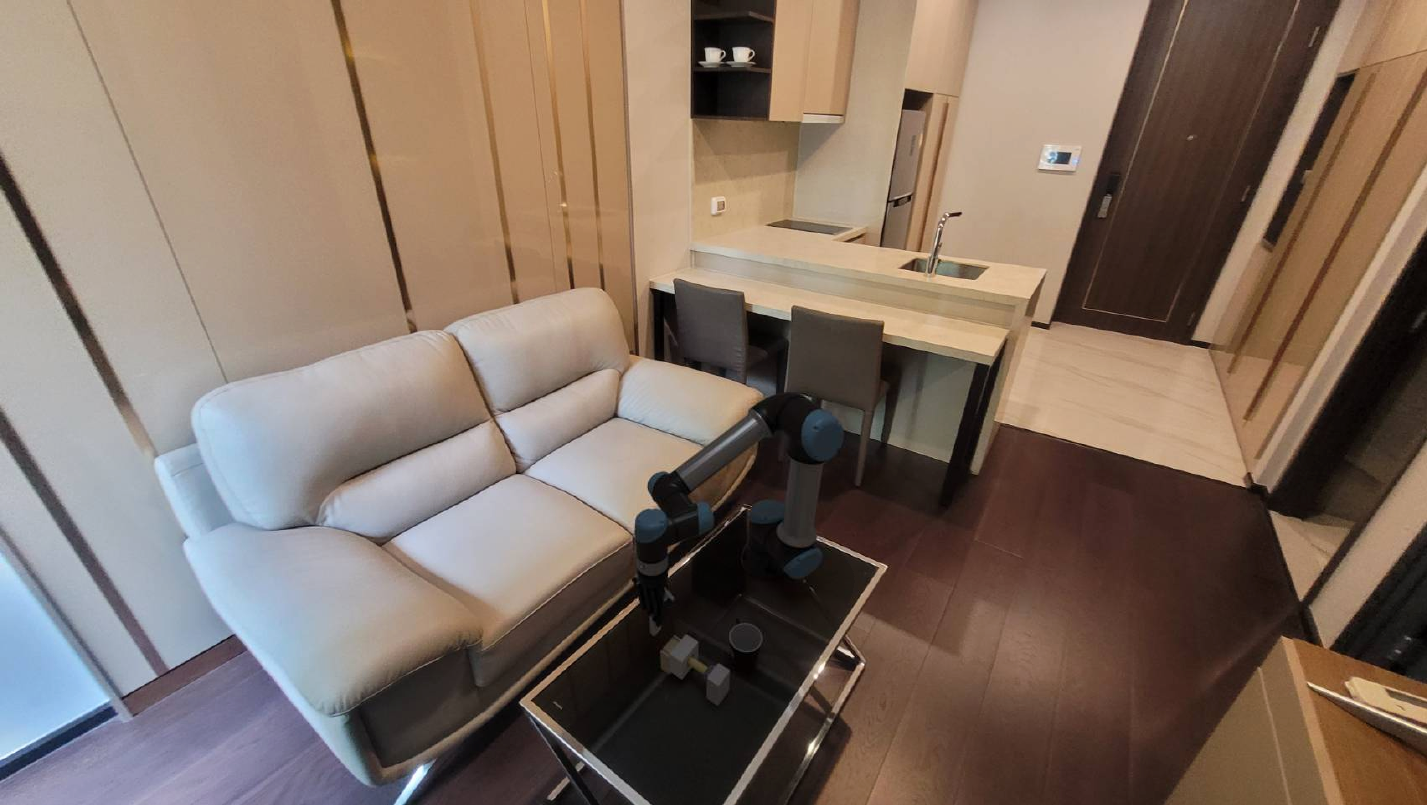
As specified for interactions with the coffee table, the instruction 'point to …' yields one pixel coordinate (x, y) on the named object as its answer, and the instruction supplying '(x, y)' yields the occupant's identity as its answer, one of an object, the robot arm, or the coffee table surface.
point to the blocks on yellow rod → (713, 675)
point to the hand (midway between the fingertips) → (655, 631)
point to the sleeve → (683, 656)
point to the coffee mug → (744, 646)
